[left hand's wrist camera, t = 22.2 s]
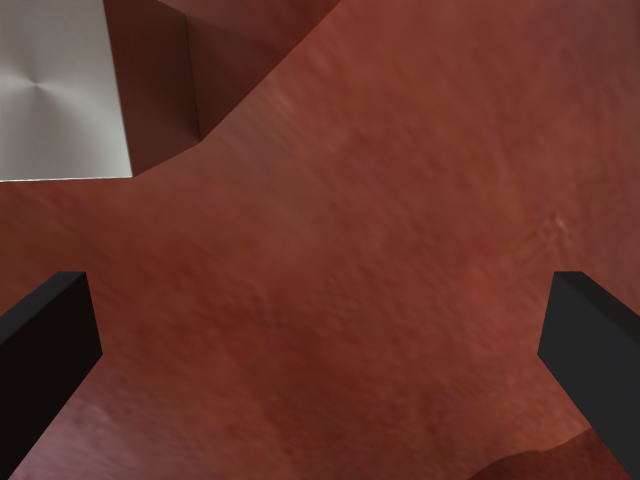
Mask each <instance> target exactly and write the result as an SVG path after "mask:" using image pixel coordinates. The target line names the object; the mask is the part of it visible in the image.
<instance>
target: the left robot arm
mask: <svg viewBox="0 0 640 480" xmlns="http://www.w3.org/2000/svg"><path fill="white" fill-rule="evenodd" d="M102 355H103V353H102V348H101V343H100V339H99V334H98V329H97V324H96V319H95V314H94V310H93V305H92V300H91V295H90V290H89V286H88V281H87V276H86V272H57V273H56V274H54V275H53V276H52V277H51V278H49V279H48V280H47V281H45V282H44V283H43V284H42V285H40V286H39V287H38V288H36V289H35V290H34V291H33V292H31V293H30V294H29V295H27V296H26V297H25V298H24V299H22V300H21V301H20V302H18V303H17V304H16V305H15V306H13V307H12V308H11V309H9V310H8V311H7V312H6V313H4V314H3V315H2V316H0V480H8V479H9V477H10V476H11V475H12V473H13V472H14V471H15V469H16V468H17V467H18V465H19V464H20V463H21V461H22V460H23V459H24V458H25V456H26V455H27V454H28V452H29V451H30V450H31V448H32V447H33V446H34V444H35V443H36V442H37V440H38V439H39V438H40V436H41V435H42V434H43V433H44V431H45V430H46V429H47V427H48V426H49V425H50V423H51V422H52V421H53V419H54V418H55V417H56V415H57V414H58V413H59V411H60V410H61V409H62V407H63V406H64V405H65V404H66V402H67V401H68V400H69V398H70V397H71V396H72V394H73V393H74V392H75V390H76V389H77V388H78V386H79V385H80V384H81V382H82V381H83V380H84V379H85V377H86V376H87V375H88V373H89V372H90V371H91V369H92V368H93V367H94V365H95V364H96V363H97V361H98V360H99V359H100V357H101V356H102ZM537 355H538V356H539V357H540V359H541V360H542V361H543V363H544V364H545V365H546V367H547V368H548V369H549V371H550V372H551V373H552V375H553V376H554V377H555V379H556V380H557V381H558V382H559V384H560V385H561V386H562V388H563V389H564V390H565V392H566V393H567V394H568V396H569V397H570V398H571V400H572V401H573V402H574V404H575V405H576V406H577V407H578V409H579V410H580V411H581V413H582V414H583V415H584V417H585V418H586V419H587V421H588V422H589V423H590V425H591V426H592V427H593V429H594V430H595V431H596V433H597V434H598V435H599V436H600V438H601V439H602V440H603V442H604V443H605V444H606V446H607V447H608V448H609V450H610V451H611V452H612V454H613V455H614V456H615V458H616V459H617V460H618V461H619V463H620V464H621V465H622V467H623V468H624V469H625V471H626V472H627V473H628V475H629V476H630V477H631V479H632V480H640V316H638V315H637V314H636V313H634V312H633V311H632V310H631V309H629V308H628V307H627V306H625V305H624V304H623V303H622V302H620V301H619V300H618V299H616V298H615V297H614V296H613V295H611V294H610V293H609V292H607V291H606V290H605V289H604V288H602V287H601V286H600V285H598V284H597V283H596V282H595V281H593V280H592V279H591V278H589V277H588V276H587V275H586V274H584V273H583V272H554V276H553V281H552V285H551V290H550V295H549V300H548V305H547V310H546V314H545V319H544V324H543V329H542V334H541V339H540V343H539V348H538V353H537Z"/></svg>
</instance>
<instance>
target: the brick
mask: <svg viewBox="0 0 640 480" xmlns="http://www.w3.org/2000/svg"><path fill="white" fill-rule="evenodd" d="M199 143H200V139H199V131H198V123H197V114H196V106H195V98H194V90H193V81H192V73H191V65H190V56H189V48H188V40H187V31H186V23H185V15H184V13H182V12H180V11H178V10H176V9H174V8H172V7H170V6H168V5H166V4H164V3H162V2H160V1H158V0H0V182H15V181H48V180H80V179H112V178H133V177H135V176H137V175H139V174H141V173H143V172H145V171H147V170H149V169H151V168H153V167H155V166H156V165H158V164H160V163H162V162H164V161H166V160H168V159H170V158H172V157H174V156H176V155H178V154H179V153H181V152H183V151H185V150H187V149H189V148H191V147H193V146H195V145H197V144H199Z"/></svg>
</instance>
